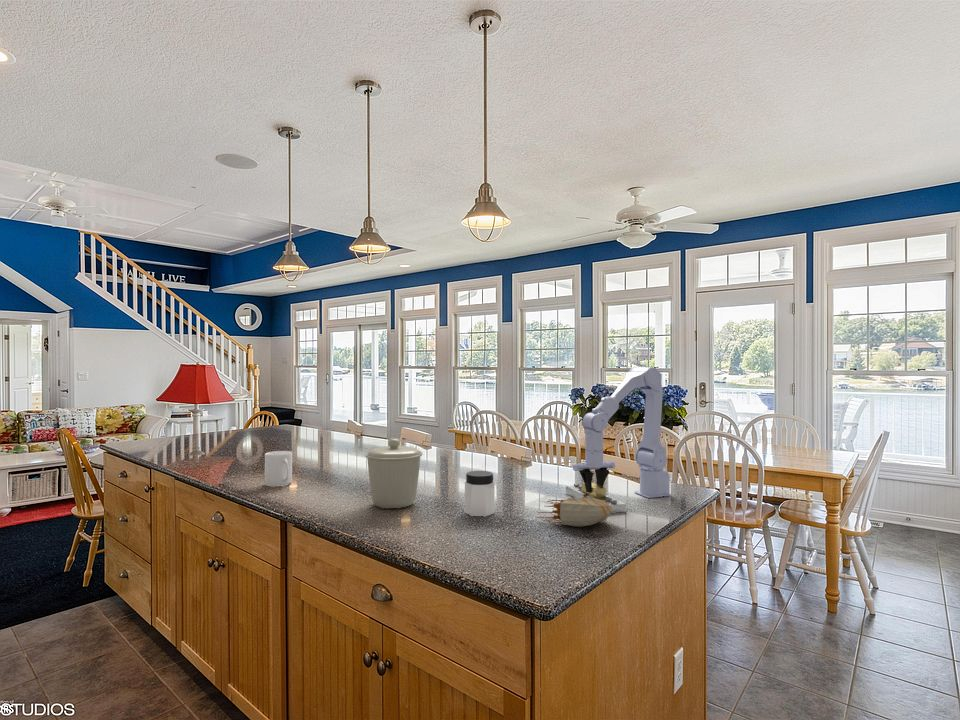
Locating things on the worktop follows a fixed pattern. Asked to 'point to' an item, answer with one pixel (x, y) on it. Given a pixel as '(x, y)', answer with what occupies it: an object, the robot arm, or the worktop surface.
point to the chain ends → (577, 493)
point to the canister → (393, 474)
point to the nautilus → (579, 511)
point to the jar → (479, 493)
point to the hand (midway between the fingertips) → (594, 491)
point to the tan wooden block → (595, 491)
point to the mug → (278, 468)
